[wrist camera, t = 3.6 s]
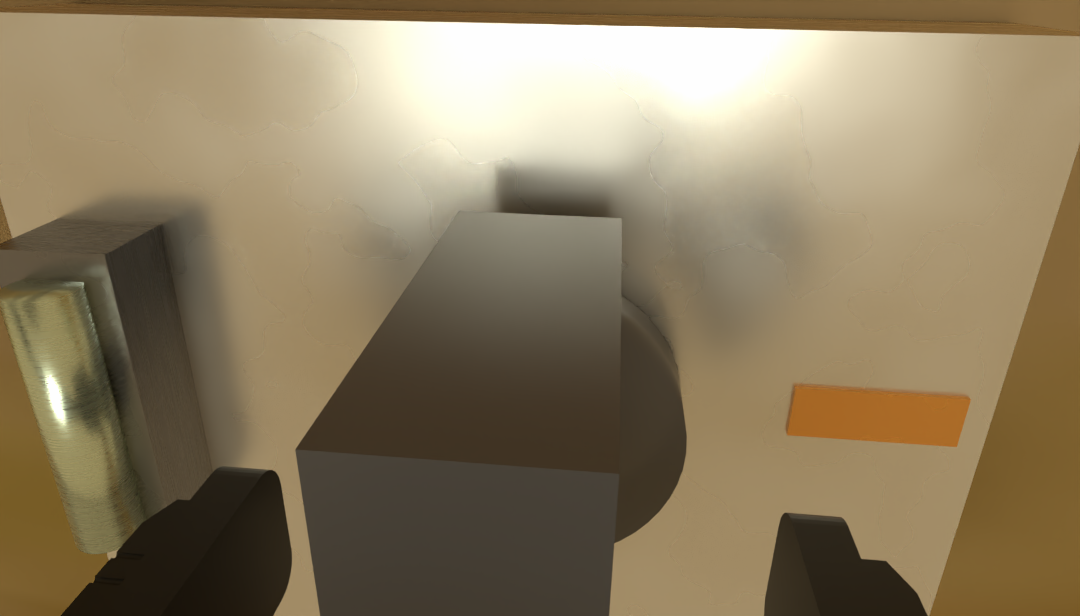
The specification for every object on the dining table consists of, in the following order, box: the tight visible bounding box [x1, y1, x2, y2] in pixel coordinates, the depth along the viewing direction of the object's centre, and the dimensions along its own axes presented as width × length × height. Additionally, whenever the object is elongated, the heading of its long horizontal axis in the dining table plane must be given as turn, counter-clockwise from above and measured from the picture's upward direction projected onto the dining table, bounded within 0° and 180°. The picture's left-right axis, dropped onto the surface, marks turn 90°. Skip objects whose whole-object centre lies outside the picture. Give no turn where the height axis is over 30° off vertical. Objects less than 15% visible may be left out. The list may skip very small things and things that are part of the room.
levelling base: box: [0, 3, 1080, 616], centre depth 14 cm, size 13×18×6 cm
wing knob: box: [295, 211, 687, 616], centre depth 10 cm, size 8×5×8 cm, turn 179°
